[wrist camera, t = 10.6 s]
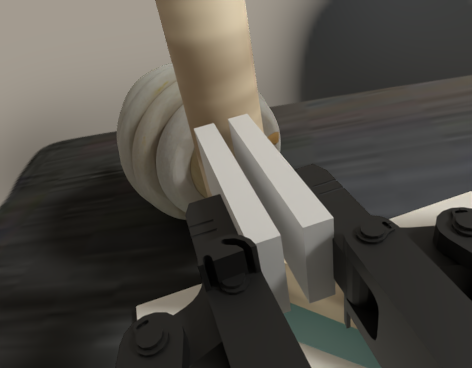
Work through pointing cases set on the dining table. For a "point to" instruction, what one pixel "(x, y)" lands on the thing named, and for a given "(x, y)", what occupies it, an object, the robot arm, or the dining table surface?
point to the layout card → (313, 324)
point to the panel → (223, 89)
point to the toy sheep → (166, 143)
